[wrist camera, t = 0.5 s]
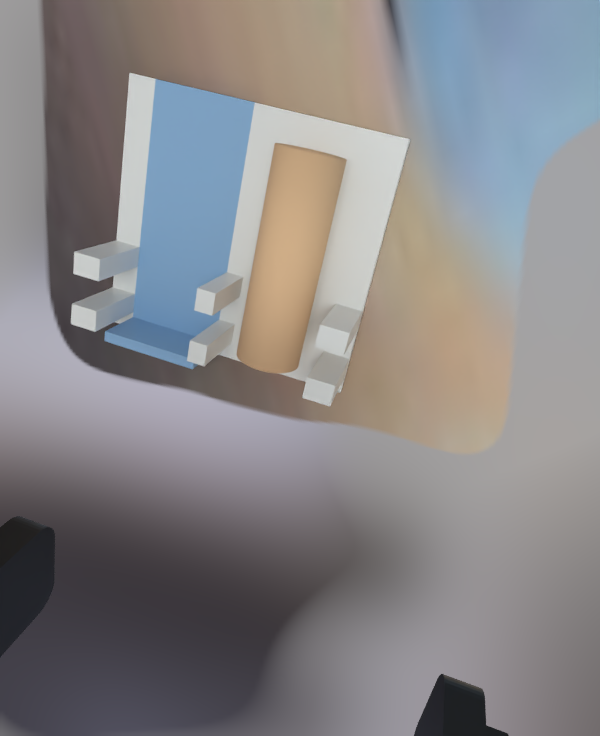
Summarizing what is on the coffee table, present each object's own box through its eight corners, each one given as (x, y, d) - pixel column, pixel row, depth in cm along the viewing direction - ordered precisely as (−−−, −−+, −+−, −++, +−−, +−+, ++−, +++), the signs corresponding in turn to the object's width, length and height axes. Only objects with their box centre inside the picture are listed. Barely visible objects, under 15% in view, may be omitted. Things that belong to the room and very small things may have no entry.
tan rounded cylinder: (286, 143, 29) (265, 142, 25) (352, 159, 28) (339, 161, 25) (248, 339, 33) (227, 360, 30) (305, 357, 33) (289, 379, 29)
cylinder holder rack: (135, 74, 30) (83, 62, 26) (410, 139, 28) (402, 138, 23) (115, 318, 36) (70, 340, 31) (342, 388, 33) (325, 423, 29)
